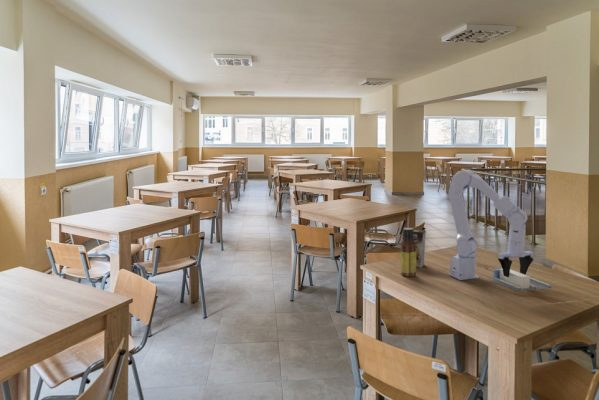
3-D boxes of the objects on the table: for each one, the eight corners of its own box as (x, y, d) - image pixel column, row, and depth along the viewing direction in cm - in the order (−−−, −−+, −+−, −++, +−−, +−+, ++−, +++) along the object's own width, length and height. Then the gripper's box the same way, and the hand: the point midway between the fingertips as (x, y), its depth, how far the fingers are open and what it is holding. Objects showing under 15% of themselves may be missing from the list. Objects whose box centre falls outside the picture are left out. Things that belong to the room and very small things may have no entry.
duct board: (516, 292, 168) (517, 280, 167) (488, 280, 183) (488, 269, 183) (556, 288, 172) (557, 277, 172) (525, 276, 188) (526, 266, 187)
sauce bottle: (414, 273, 193) (416, 227, 190) (417, 277, 187) (418, 229, 184) (399, 272, 193) (400, 226, 191) (401, 277, 187) (402, 229, 185)
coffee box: (401, 265, 205) (402, 230, 203) (404, 262, 211) (405, 228, 209) (421, 268, 201) (422, 232, 199) (424, 264, 207) (426, 229, 205)
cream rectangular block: (521, 288, 171) (522, 277, 170) (499, 279, 182) (500, 268, 182) (529, 288, 172) (530, 276, 171) (507, 279, 183) (507, 268, 183)
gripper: (507, 244, 169) (505, 279, 171) (540, 242, 173) (537, 277, 175) (495, 240, 176) (493, 274, 178) (526, 238, 180) (524, 272, 181)
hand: (514, 275), depth 177 cm, fingers open, 7 cm apart
